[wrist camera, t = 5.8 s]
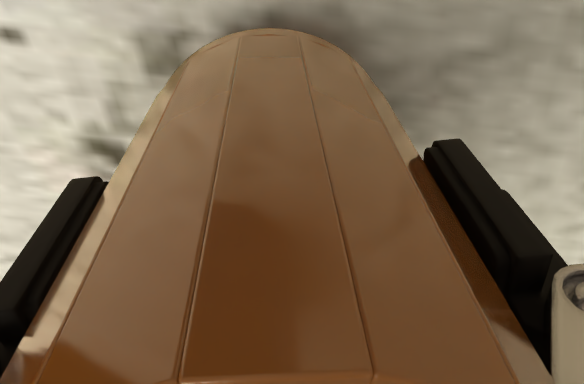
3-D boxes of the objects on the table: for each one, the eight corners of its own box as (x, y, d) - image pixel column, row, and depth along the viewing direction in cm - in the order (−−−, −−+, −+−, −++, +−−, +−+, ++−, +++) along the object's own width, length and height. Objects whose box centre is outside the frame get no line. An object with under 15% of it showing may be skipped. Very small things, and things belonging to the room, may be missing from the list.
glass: (189, -19, 11) (-78, 273, 2) (432, 84, 12) (766, 460, 4) (130, 202, 14) (-62, 634, 6) (327, 258, 16) (393, 652, 8)
